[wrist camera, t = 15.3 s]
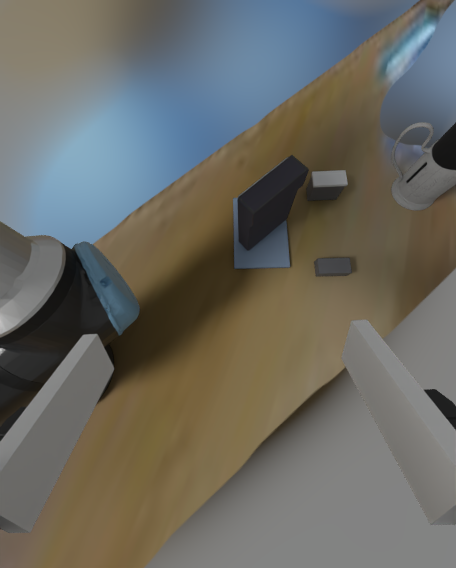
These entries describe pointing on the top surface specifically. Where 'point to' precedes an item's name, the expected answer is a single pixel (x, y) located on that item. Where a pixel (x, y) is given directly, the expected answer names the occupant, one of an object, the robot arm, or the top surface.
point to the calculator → (269, 201)
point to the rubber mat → (262, 248)
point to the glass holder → (427, 171)
